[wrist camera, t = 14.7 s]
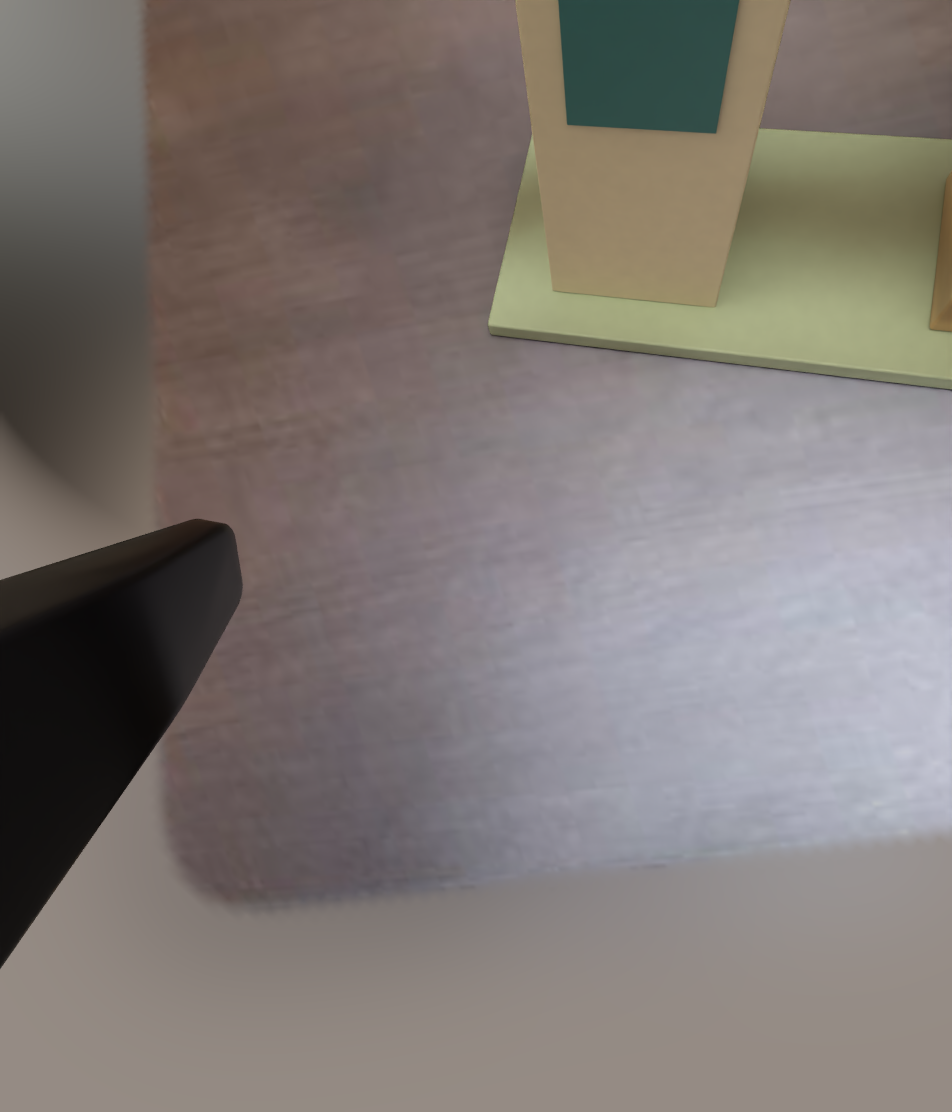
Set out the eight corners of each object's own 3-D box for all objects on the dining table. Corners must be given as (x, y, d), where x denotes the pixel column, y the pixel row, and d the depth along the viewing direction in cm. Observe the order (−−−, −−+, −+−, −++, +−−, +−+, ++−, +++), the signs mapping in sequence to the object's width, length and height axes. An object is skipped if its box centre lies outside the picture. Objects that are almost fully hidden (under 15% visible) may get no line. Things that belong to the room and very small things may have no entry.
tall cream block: (714, 311, 22) (835, -182, 10) (551, 294, 22) (489, -174, 11) (739, 165, 22) (876, -443, 11) (581, 154, 23) (554, -414, 12)
